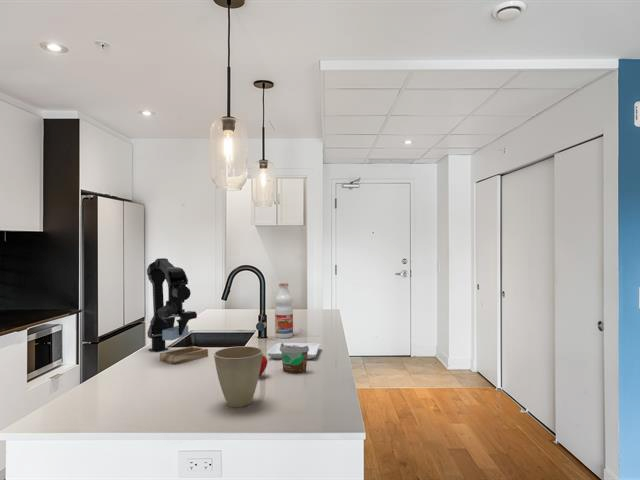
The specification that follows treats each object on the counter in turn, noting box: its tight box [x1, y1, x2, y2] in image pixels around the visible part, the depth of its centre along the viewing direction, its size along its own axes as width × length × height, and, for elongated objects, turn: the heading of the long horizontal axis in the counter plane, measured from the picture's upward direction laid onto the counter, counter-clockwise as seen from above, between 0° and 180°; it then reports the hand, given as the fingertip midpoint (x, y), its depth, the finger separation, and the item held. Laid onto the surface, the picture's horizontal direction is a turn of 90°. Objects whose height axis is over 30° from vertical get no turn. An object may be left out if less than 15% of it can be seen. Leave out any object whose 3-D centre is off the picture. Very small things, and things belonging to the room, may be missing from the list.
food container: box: [280, 342, 309, 375], centre depth 175 cm, size 12×6×10 cm, turn 62°
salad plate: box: [266, 342, 322, 360], centre depth 202 cm, size 21×21×3 cm
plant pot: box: [213, 345, 264, 408], centre depth 142 cm, size 15×15×16 cm
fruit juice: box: [274, 282, 294, 339], centre depth 241 cm, size 9×9×28 cm
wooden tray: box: [159, 345, 209, 366], centre depth 198 cm, size 10×17×3 cm, turn 141°
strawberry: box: [259, 353, 268, 378], centre depth 169 cm, size 6×8×10 cm
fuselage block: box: [162, 324, 189, 341], centre depth 195 cm, size 12×4×4 cm, turn 163°
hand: (175, 334), depth 195 cm, fingers closed on fuselage block, 5 cm apart
